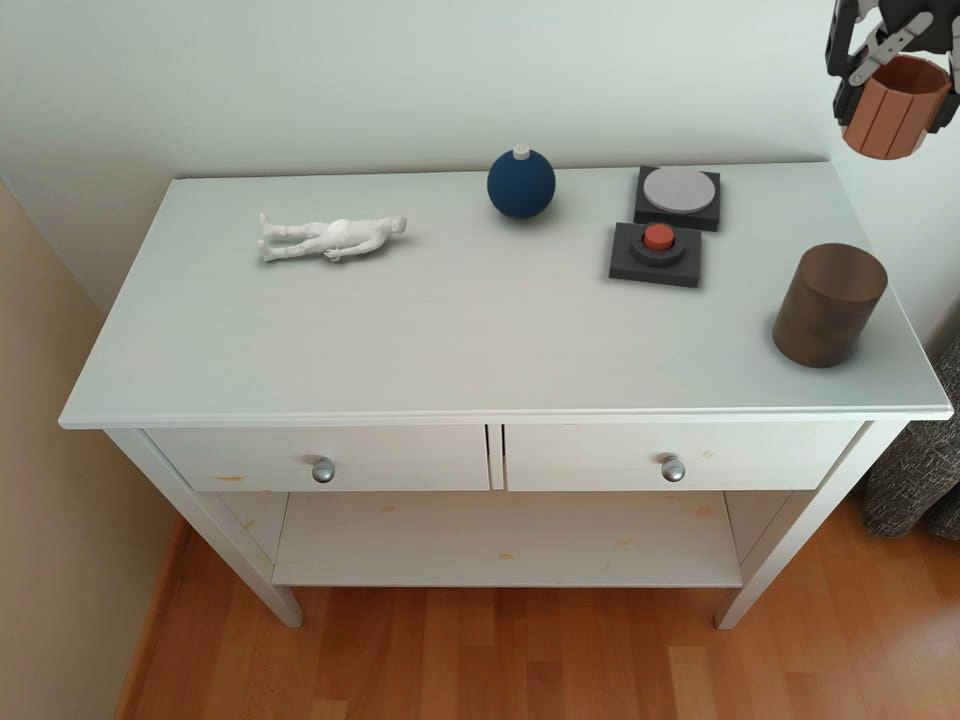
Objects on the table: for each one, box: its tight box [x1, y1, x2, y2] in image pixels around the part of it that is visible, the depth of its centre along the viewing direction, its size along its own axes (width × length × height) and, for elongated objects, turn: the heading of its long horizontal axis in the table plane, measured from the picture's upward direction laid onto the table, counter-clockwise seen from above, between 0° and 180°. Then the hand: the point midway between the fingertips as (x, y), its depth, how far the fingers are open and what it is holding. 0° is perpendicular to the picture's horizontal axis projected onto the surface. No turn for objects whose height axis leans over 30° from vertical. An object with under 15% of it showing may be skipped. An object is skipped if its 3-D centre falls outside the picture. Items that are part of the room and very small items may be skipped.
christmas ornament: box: [486, 143, 557, 220], centre depth 89 cm, size 8×8×10 cm
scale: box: [632, 165, 721, 232], centre depth 92 cm, size 10×9×3 cm
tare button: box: [644, 224, 674, 251], centre depth 84 cm, size 3×3×1 cm
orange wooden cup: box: [840, 53, 952, 161], centre depth 59 cm, size 6×6×6 cm
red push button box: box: [608, 221, 702, 289], centre depth 85 cm, size 10×8×3 cm
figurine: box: [257, 212, 409, 263], centre depth 89 cm, size 7×4×18 cm
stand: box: [771, 242, 889, 369], centre depth 74 cm, size 8×8×10 cm
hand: (885, 123), depth 60 cm, fingers closed on orange wooden cup, 6 cm apart
